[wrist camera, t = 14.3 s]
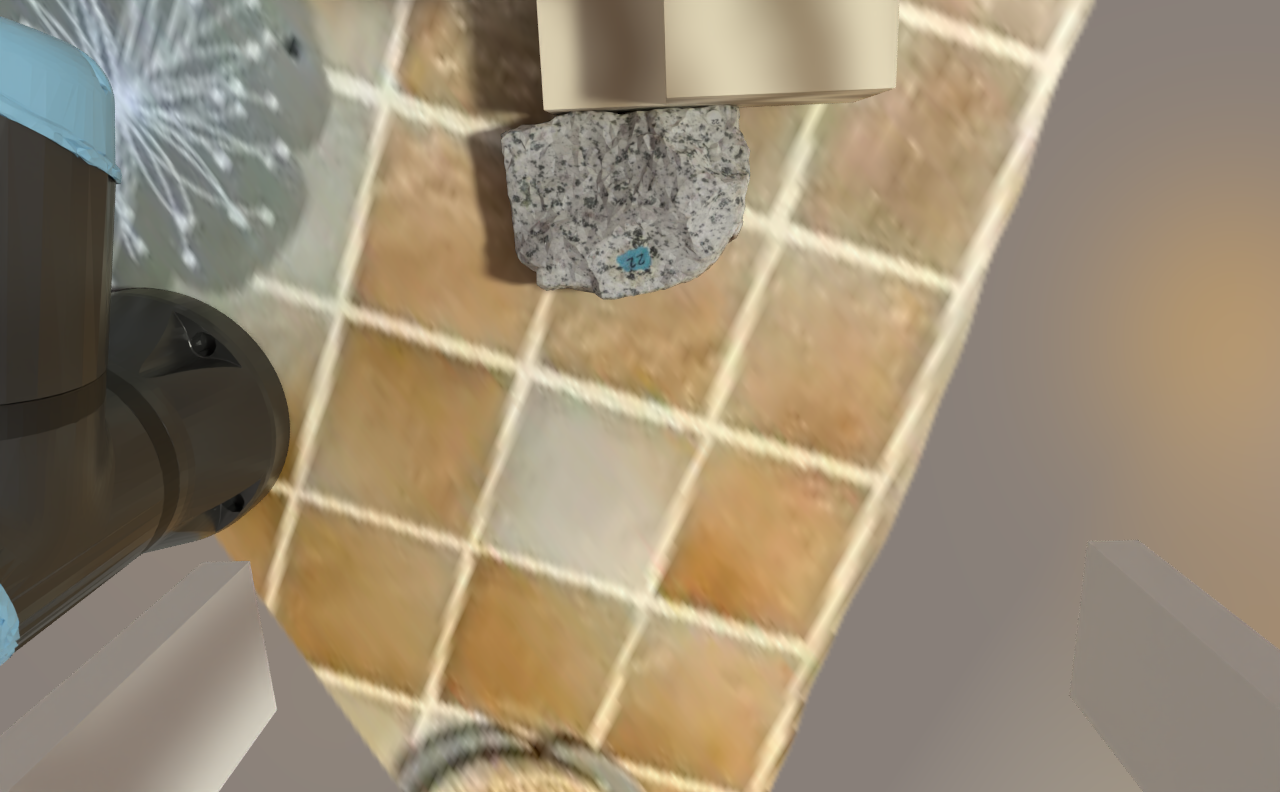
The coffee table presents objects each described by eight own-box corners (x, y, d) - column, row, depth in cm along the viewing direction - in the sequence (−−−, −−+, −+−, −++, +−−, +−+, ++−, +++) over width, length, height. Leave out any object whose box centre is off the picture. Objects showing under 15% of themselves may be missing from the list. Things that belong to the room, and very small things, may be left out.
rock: (523, 292, 47) (507, 309, 42) (507, 117, 44) (488, 113, 39) (746, 283, 46) (755, 299, 42) (744, 104, 44) (754, 99, 39)
